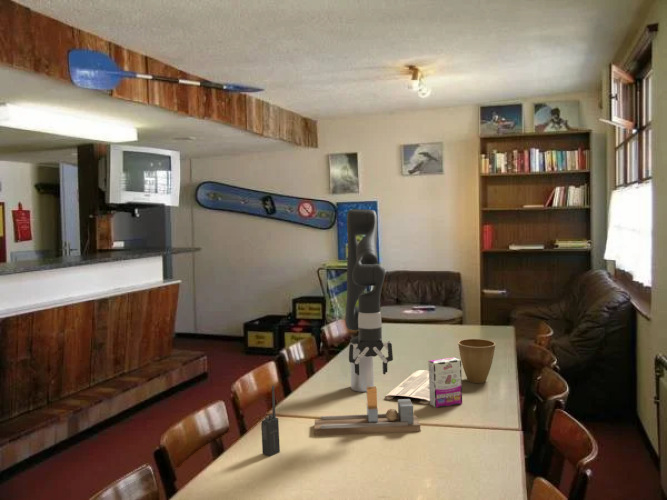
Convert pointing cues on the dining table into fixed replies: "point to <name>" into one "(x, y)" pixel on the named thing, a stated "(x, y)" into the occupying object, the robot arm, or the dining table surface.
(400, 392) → the newspaper
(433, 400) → the candy bar box
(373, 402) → the sliding jaw
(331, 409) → the dining table surface
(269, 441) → the walkie-talkie
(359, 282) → the robot arm
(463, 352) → the plant pot
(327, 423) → the base
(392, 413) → the smooth beige ball
